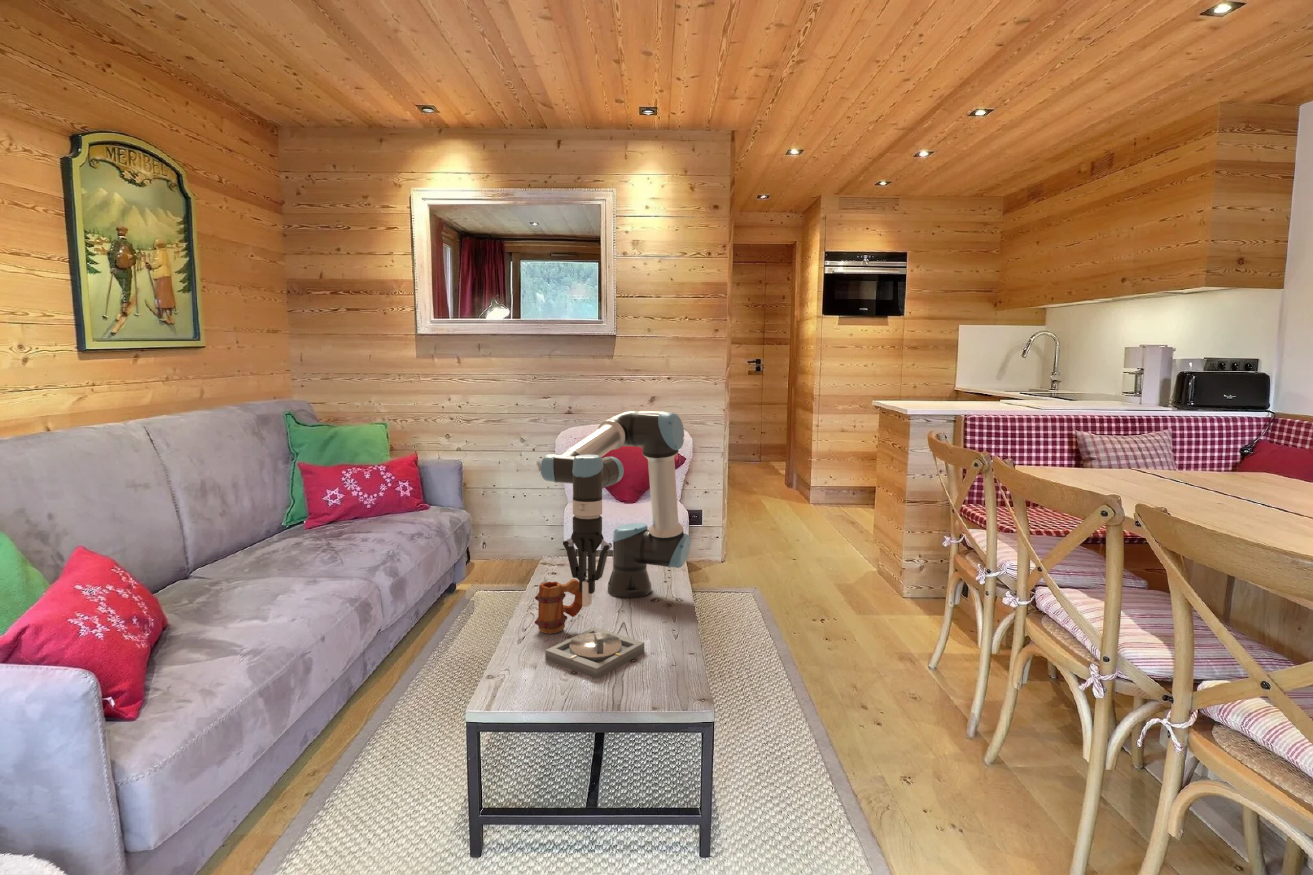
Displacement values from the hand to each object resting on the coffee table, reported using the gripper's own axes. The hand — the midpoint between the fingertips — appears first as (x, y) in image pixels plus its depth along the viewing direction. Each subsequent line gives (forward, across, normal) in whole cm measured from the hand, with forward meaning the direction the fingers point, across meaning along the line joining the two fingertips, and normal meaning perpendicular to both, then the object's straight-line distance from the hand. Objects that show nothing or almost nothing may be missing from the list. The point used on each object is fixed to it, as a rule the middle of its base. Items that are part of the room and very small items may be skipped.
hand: (587, 604), depth 178 cm
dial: (+15, 0, +6) cm, 16 cm away
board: (+17, 0, +6) cm, 18 cm away
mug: (+17, -17, +20) cm, 31 cm away
